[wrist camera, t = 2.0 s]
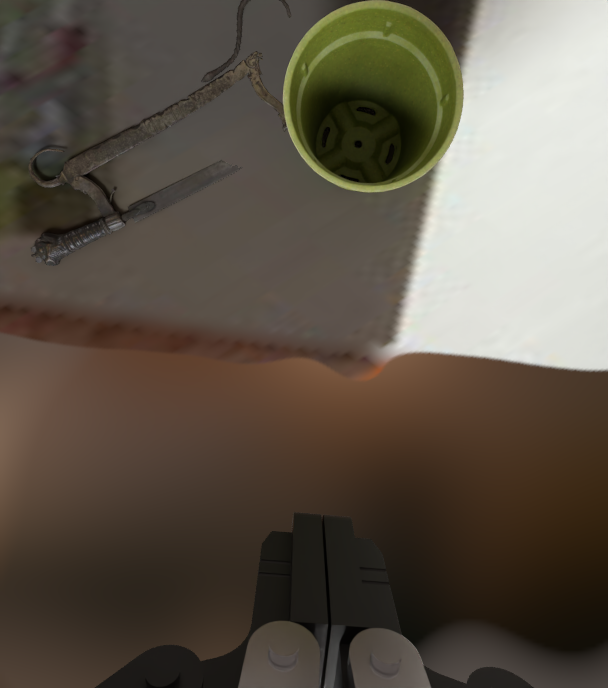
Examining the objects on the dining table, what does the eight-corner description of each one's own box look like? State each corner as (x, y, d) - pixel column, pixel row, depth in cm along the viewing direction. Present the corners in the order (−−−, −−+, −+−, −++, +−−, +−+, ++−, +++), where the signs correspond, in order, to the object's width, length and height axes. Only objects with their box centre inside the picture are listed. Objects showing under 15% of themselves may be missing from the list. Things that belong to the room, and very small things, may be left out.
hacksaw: (47, 272, 35) (35, 272, 34) (-21, 143, 34) (-37, 136, 33) (341, 124, 33) (342, 116, 32) (277, -18, 33) (275, -33, 31)
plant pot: (441, 91, 33) (485, 21, 24) (408, 228, 34) (438, 208, 25) (308, 62, 33) (304, -19, 24) (279, 200, 34) (266, 170, 25)
